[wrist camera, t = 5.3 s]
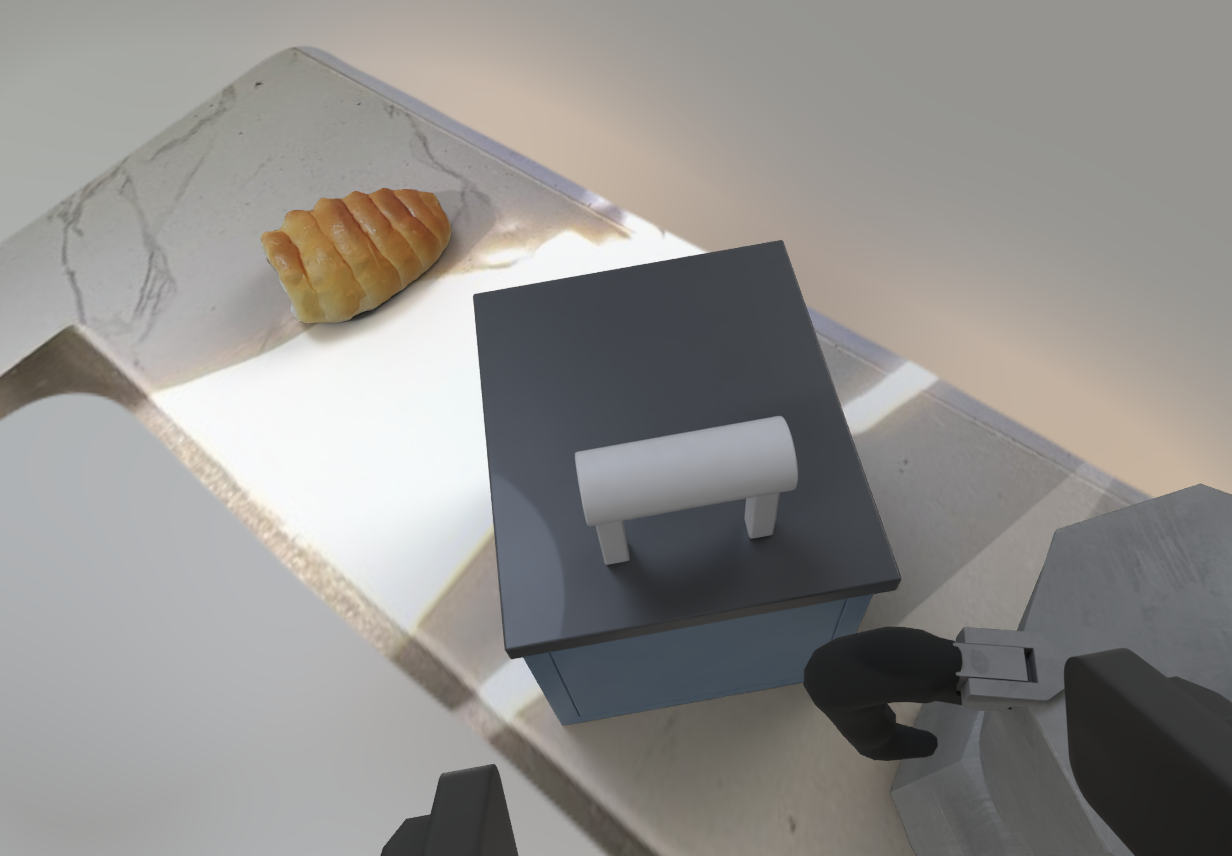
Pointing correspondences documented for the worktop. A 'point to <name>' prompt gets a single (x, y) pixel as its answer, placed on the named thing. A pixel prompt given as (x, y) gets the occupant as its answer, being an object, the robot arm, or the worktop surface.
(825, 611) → the blue-grey box
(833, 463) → the grey box lid
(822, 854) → the worktop surface
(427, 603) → the worktop surface
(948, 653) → the coffeepot
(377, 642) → the worktop surface
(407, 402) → the worktop surface
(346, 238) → the pastry
